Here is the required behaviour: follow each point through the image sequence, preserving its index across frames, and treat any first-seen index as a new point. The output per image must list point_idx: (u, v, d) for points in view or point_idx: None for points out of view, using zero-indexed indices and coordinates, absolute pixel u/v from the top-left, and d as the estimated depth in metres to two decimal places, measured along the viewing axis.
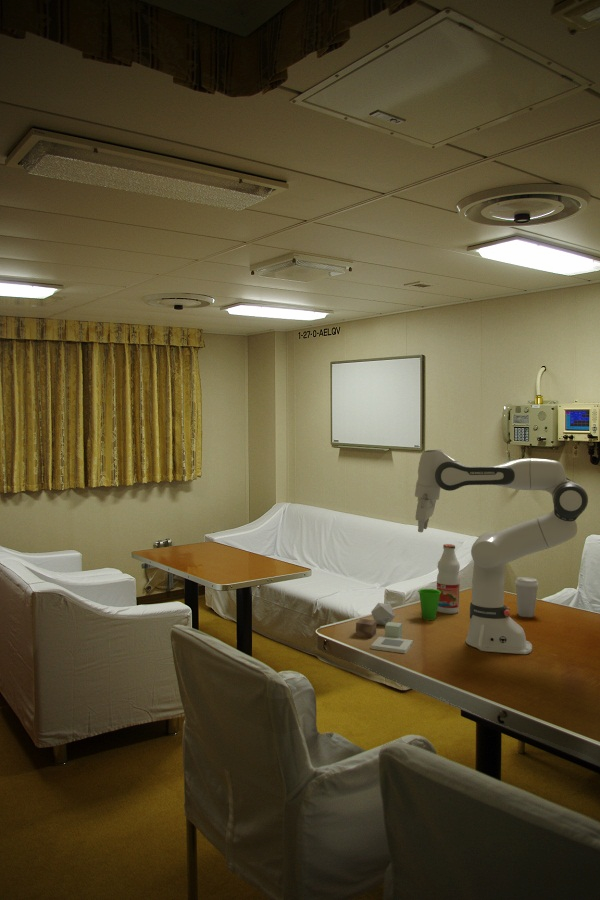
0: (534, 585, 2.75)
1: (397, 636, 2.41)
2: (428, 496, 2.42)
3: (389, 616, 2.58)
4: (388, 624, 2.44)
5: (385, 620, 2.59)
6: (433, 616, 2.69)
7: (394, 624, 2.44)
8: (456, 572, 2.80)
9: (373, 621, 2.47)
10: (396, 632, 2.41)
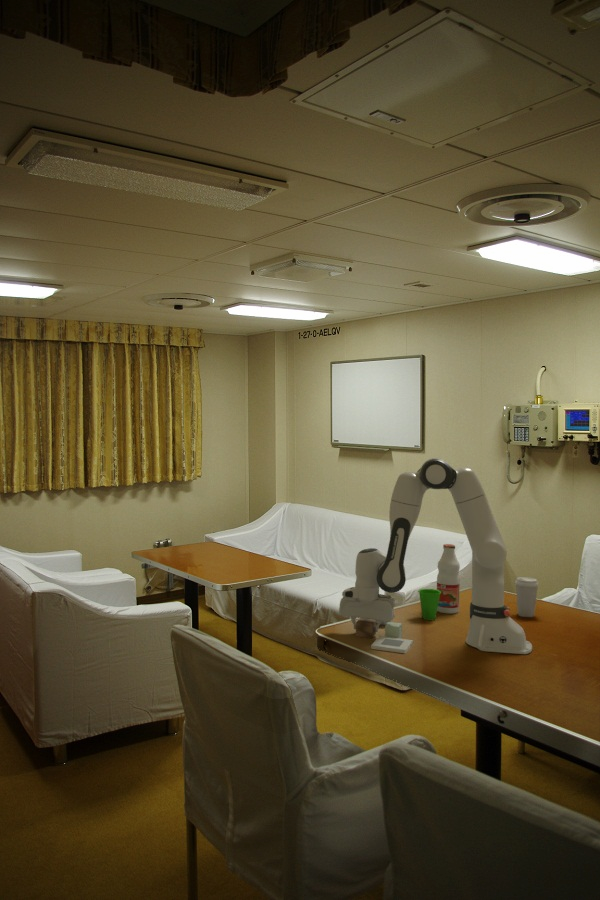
0: (534, 585, 2.75)
1: (397, 636, 2.41)
2: None
3: None
4: (388, 624, 2.44)
5: None
6: (433, 616, 2.69)
7: (394, 624, 2.44)
8: (456, 572, 2.80)
9: (373, 621, 2.47)
10: (396, 632, 2.41)
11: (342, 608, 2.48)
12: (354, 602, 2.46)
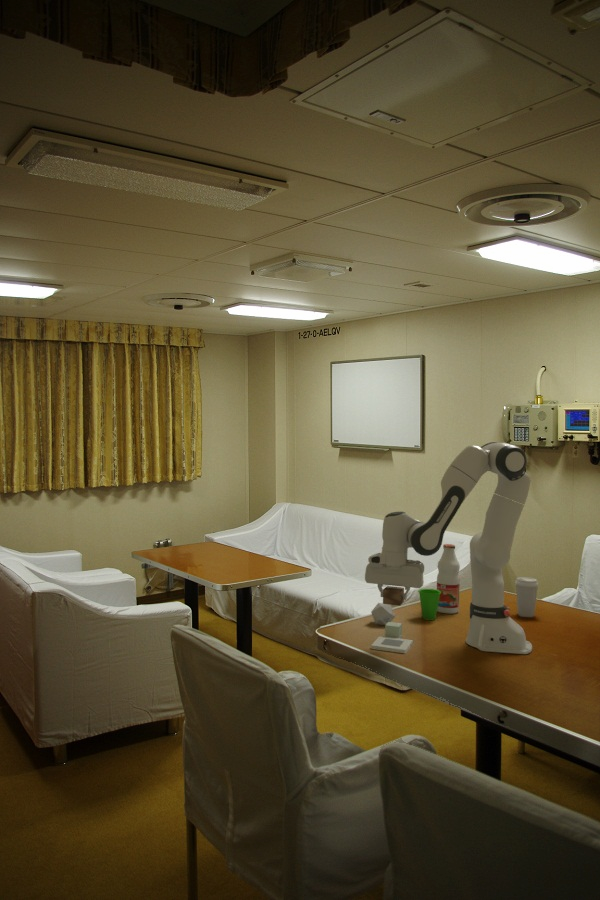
0: (534, 585, 2.75)
1: (397, 636, 2.41)
2: None
3: (389, 616, 2.58)
4: (388, 624, 2.44)
5: (385, 620, 2.59)
6: (433, 616, 2.69)
7: (394, 624, 2.44)
8: (456, 572, 2.80)
9: (401, 588, 2.34)
10: (396, 632, 2.41)
11: (368, 574, 2.35)
12: (380, 568, 2.33)
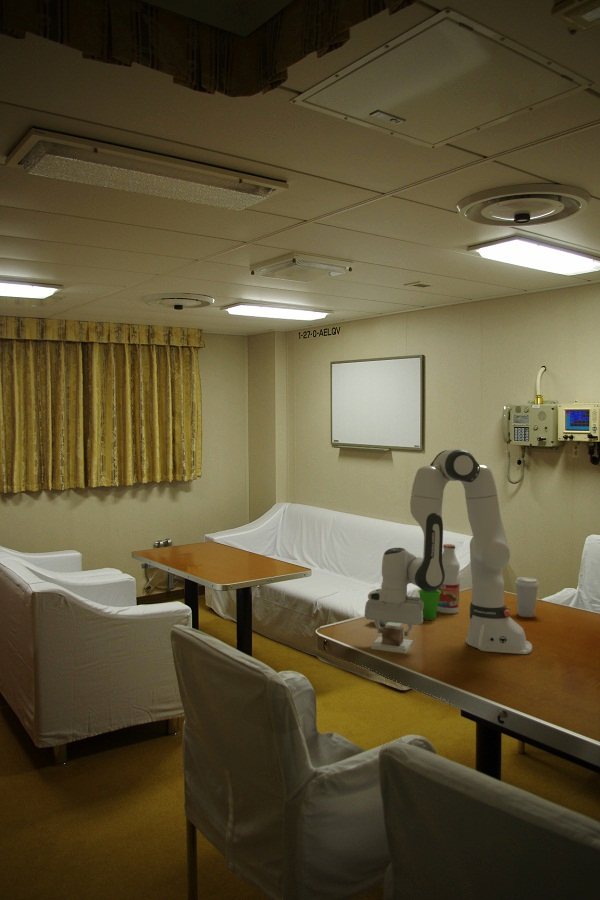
0: (534, 585, 2.75)
1: None
2: None
3: None
4: (388, 624, 2.44)
5: None
6: (433, 616, 2.69)
7: (394, 624, 2.44)
8: (456, 572, 2.80)
9: (400, 627, 2.35)
10: None
11: (368, 611, 2.35)
12: (380, 604, 2.34)
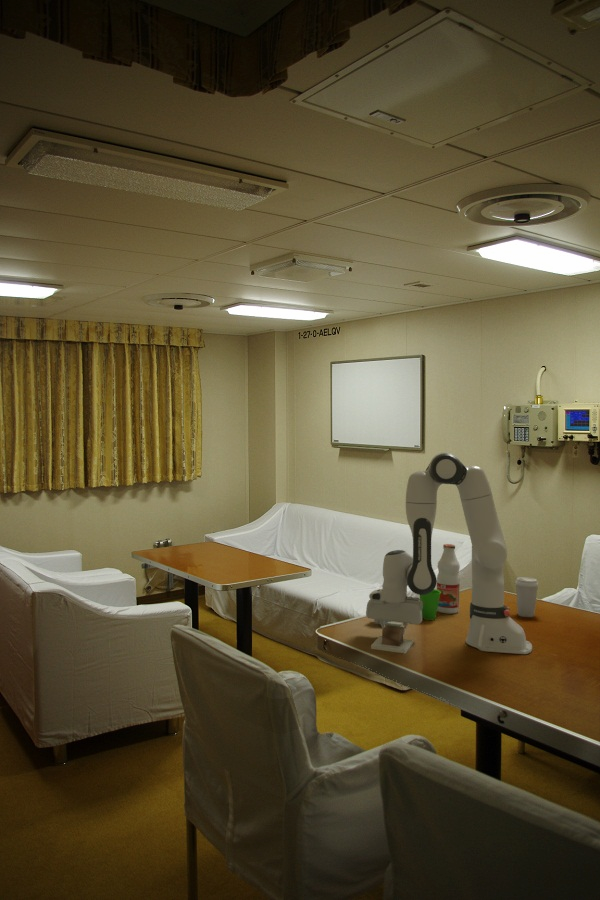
0: (534, 585, 2.75)
1: None
2: None
3: None
4: (388, 624, 2.44)
5: (385, 620, 2.59)
6: (433, 616, 2.69)
7: (394, 624, 2.44)
8: (456, 572, 2.80)
9: (400, 627, 2.35)
10: None
11: (369, 610, 2.45)
12: (381, 604, 2.44)
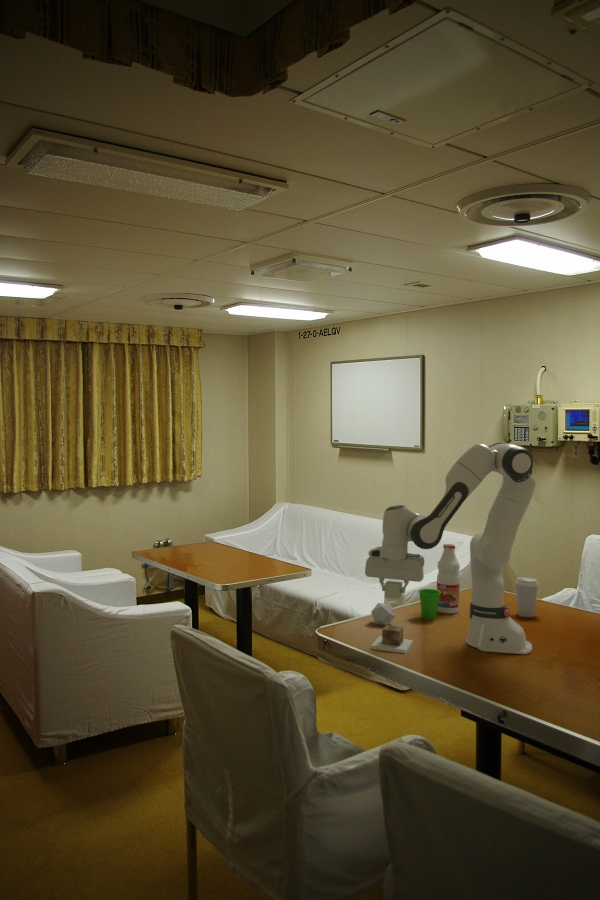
0: (534, 585, 2.75)
1: (397, 594, 2.31)
2: None
3: (389, 616, 2.58)
4: (388, 582, 2.33)
5: (385, 620, 2.59)
6: (433, 616, 2.69)
7: (394, 582, 2.34)
8: (456, 572, 2.80)
9: (400, 627, 2.35)
10: (396, 590, 2.31)
11: (368, 568, 2.35)
12: (381, 561, 2.33)
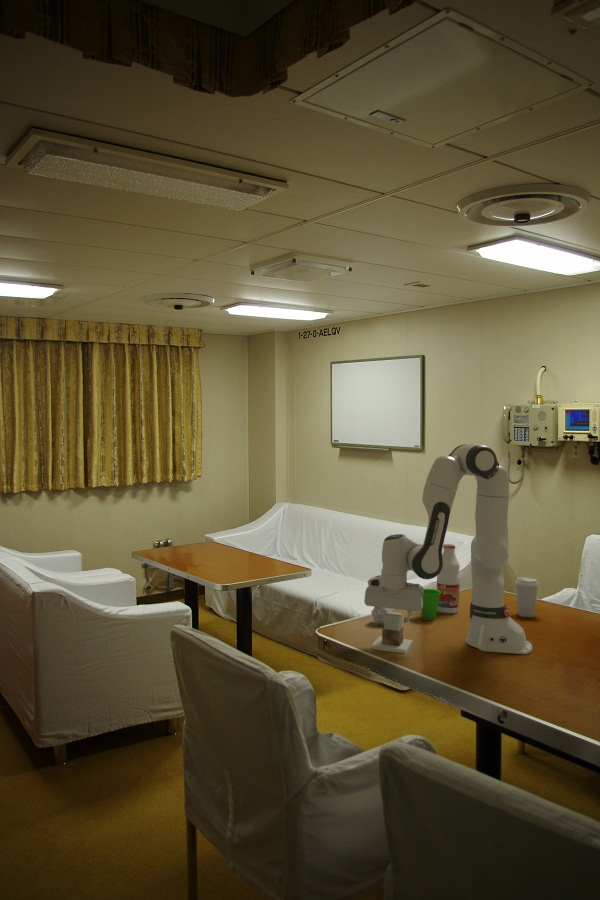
0: (534, 585, 2.75)
1: (397, 626, 2.31)
2: None
3: None
4: (387, 614, 2.34)
5: None
6: (433, 616, 2.69)
7: (394, 614, 2.34)
8: (456, 572, 2.80)
9: None
10: (396, 622, 2.31)
11: (368, 597, 2.35)
12: (380, 591, 2.34)
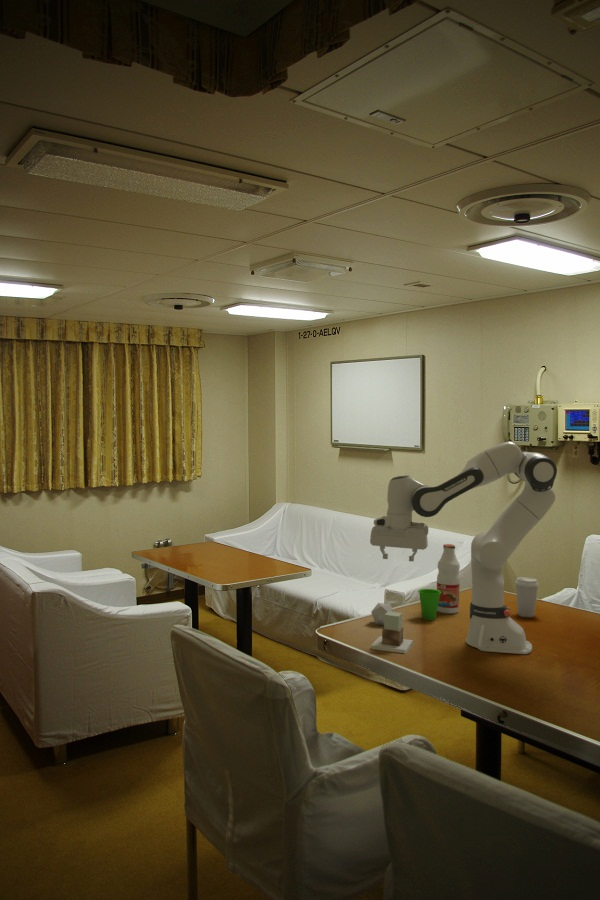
0: (534, 585, 2.75)
1: (397, 626, 2.31)
2: None
3: None
4: (387, 614, 2.34)
5: None
6: (433, 616, 2.69)
7: (394, 614, 2.34)
8: (456, 572, 2.80)
9: None
10: (396, 622, 2.31)
11: (374, 537, 2.40)
12: (385, 530, 2.39)
